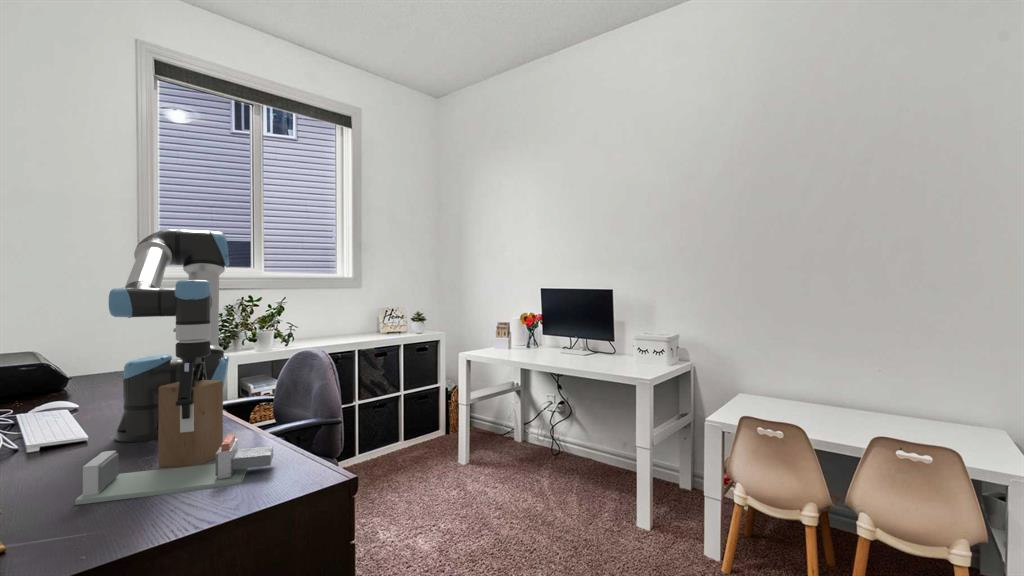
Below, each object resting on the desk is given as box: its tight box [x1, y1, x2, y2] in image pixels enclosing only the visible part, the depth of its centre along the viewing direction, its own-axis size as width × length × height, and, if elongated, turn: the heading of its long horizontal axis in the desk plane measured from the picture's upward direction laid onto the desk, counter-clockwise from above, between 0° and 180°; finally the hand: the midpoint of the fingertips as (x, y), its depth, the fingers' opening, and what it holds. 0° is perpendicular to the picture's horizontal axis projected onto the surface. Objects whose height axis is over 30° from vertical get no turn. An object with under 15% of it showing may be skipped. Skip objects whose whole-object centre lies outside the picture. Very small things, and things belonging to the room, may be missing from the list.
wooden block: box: [157, 380, 224, 469], centre depth 127 cm, size 10×10×20 cm
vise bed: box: [74, 450, 249, 506], centre depth 113 cm, size 14×30×7 cm, turn 111°
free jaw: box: [214, 433, 274, 479], centre depth 119 cm, size 10×11×7 cm
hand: (194, 424), depth 127 cm, fingers open, 13 cm apart
